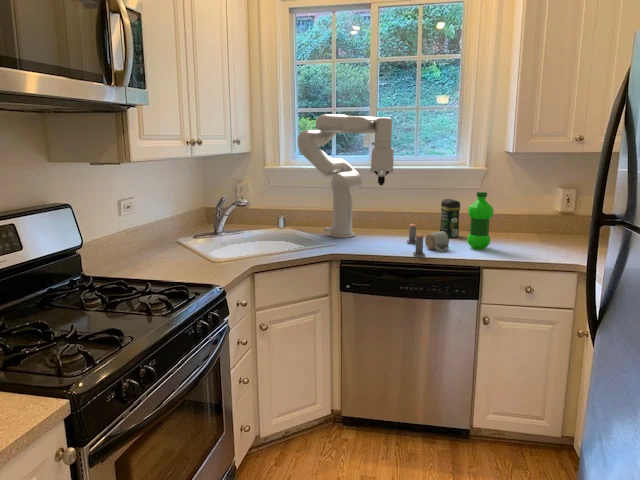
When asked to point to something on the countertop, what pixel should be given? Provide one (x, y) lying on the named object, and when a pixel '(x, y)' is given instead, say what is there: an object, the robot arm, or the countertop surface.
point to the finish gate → (416, 240)
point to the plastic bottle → (480, 222)
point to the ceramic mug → (437, 241)
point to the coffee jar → (450, 217)
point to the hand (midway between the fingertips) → (381, 184)
